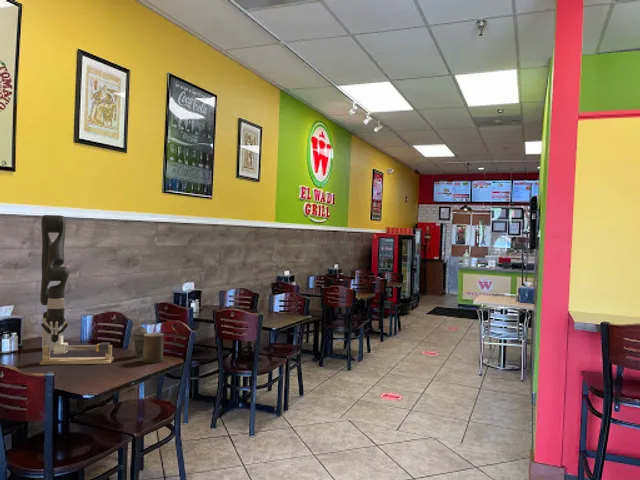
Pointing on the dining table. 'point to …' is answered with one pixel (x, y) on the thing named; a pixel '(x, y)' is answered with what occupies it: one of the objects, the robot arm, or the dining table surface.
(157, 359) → the pillar candle
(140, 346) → the beverage cup
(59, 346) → the white slider block
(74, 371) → the dining table surface
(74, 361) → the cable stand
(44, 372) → the dining table surface
